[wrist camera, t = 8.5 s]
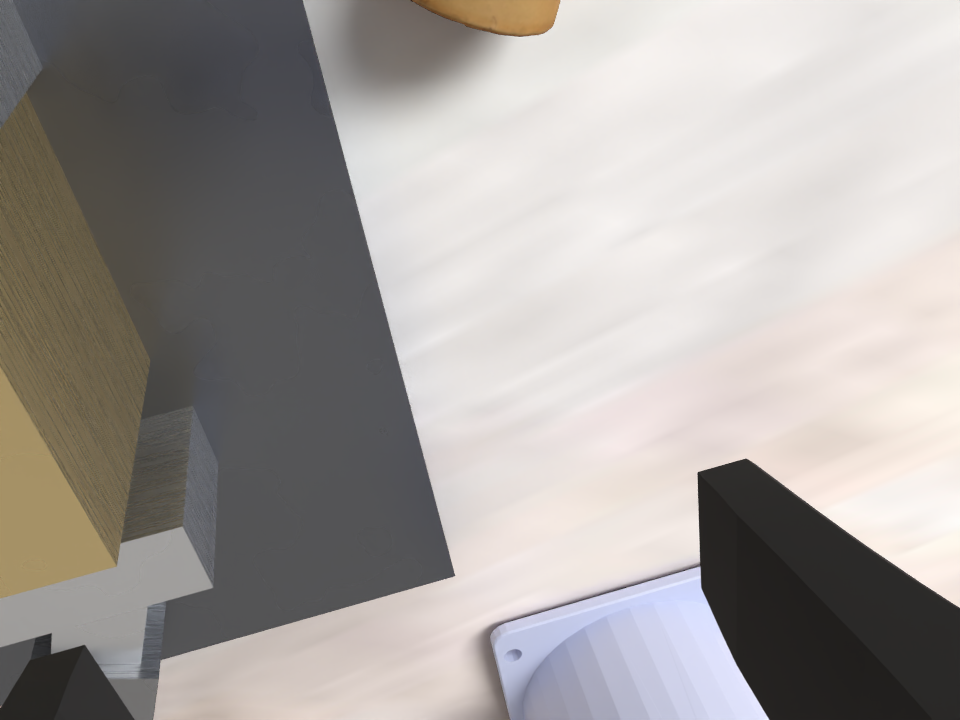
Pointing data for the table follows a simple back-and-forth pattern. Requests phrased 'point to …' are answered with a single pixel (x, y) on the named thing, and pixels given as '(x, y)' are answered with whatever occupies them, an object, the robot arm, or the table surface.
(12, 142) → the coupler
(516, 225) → the table surface
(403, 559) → the shaft base
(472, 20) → the kendama
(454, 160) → the table surface
